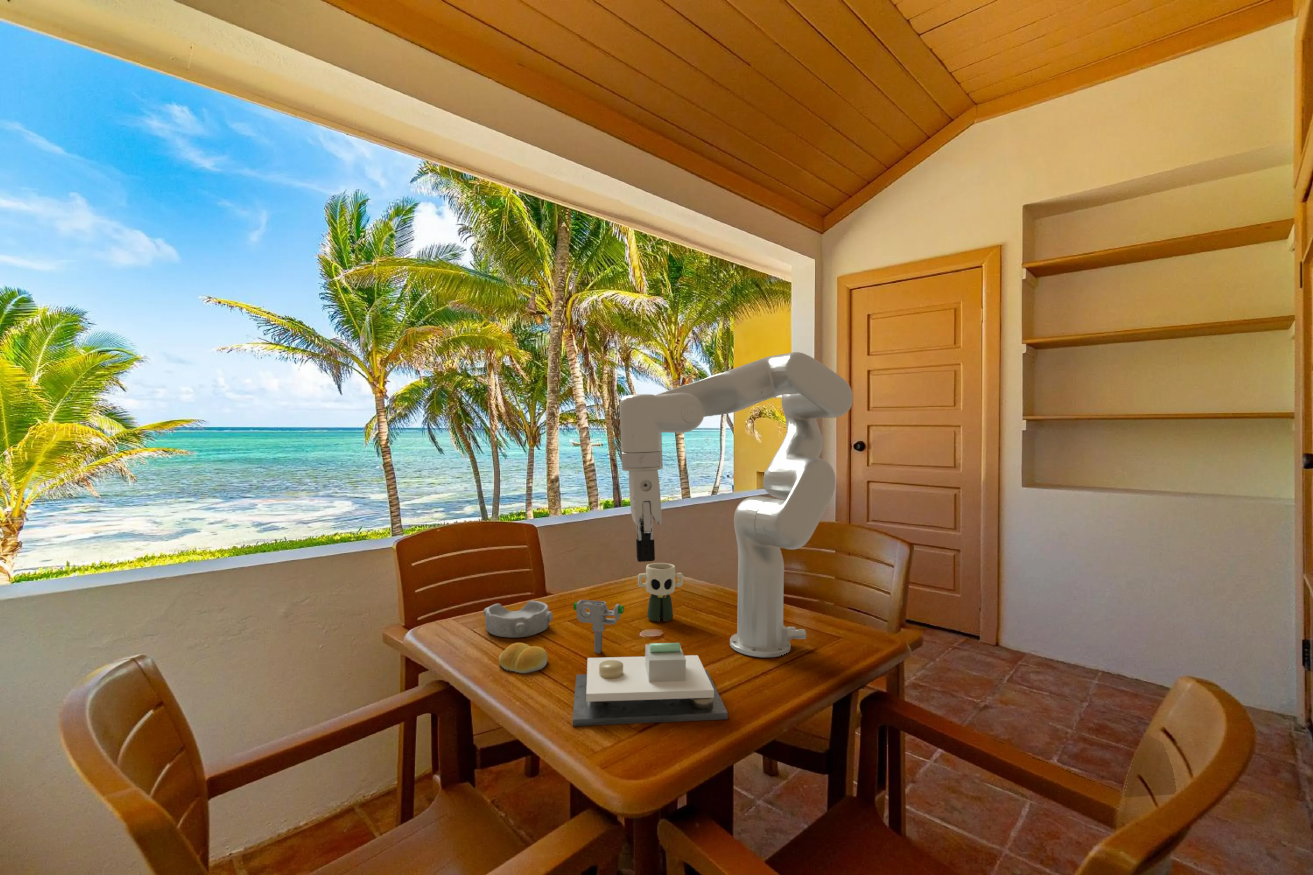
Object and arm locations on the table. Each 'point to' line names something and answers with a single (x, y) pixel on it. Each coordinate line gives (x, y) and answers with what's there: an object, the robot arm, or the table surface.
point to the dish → (518, 620)
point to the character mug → (660, 589)
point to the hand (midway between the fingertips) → (645, 560)
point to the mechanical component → (597, 617)
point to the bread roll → (523, 658)
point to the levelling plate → (641, 685)
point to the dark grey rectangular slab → (644, 708)
